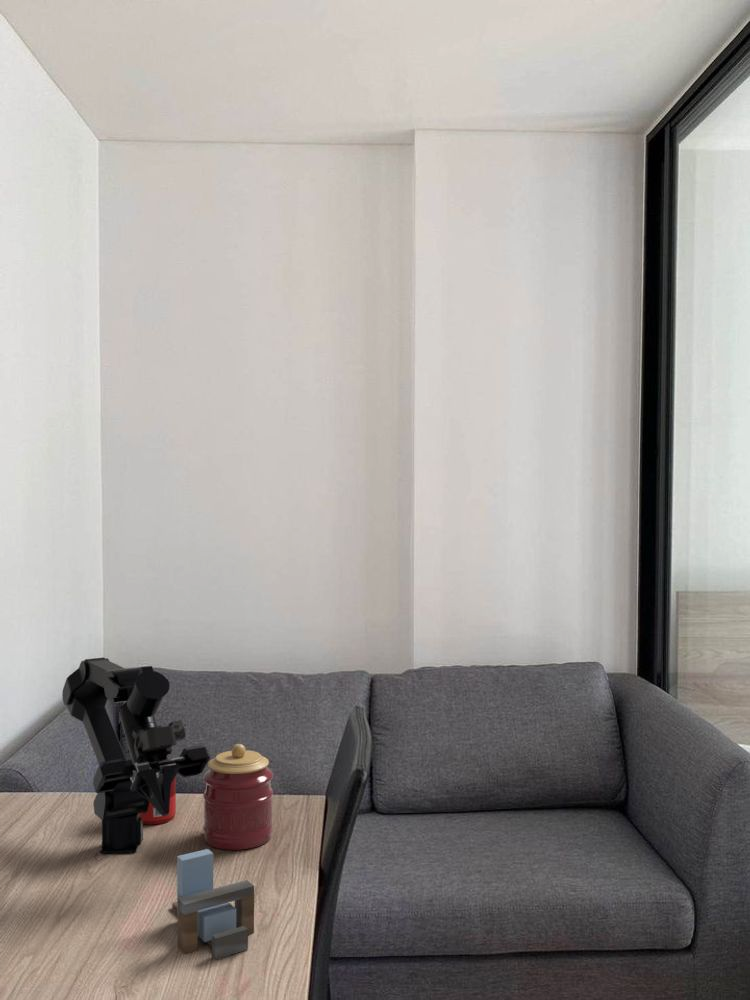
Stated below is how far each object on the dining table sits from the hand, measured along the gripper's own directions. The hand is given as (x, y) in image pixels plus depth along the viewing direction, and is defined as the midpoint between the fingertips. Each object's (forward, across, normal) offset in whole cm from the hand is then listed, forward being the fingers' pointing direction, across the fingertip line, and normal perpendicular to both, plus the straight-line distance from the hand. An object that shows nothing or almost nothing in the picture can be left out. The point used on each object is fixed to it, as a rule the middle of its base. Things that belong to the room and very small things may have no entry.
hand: (166, 814), depth 151 cm
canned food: (-13, +10, +31) cm, 36 cm away
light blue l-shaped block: (+19, 0, -3) cm, 20 cm away
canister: (-1, +20, +19) cm, 27 cm away
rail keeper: (+20, 0, -2) cm, 20 cm away
